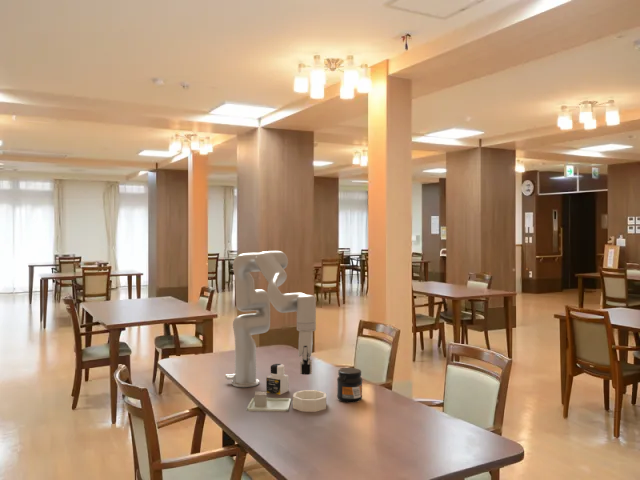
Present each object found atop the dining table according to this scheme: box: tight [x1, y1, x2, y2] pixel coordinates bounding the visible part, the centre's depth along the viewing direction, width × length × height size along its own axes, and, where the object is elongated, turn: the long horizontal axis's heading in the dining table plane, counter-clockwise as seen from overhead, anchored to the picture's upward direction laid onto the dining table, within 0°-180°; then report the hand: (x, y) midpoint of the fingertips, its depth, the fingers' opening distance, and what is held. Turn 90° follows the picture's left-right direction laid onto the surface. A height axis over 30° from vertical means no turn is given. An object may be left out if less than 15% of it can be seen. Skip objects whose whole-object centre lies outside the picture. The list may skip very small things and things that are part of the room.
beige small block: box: [254, 391, 268, 407], centre depth 217 cm, size 4×4×5 cm
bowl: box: [292, 389, 327, 413], centre depth 217 cm, size 13×13×5 cm
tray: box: [246, 397, 292, 413], centre depth 217 cm, size 16×14×1 cm
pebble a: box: [299, 359, 313, 375], centre depth 215 cm, size 4×4×5 cm
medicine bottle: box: [265, 363, 290, 396], centre depth 236 cm, size 7×7×12 cm
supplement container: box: [336, 367, 363, 403], centre depth 227 cm, size 10×10×12 cm
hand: (306, 372), depth 215 cm, fingers closed on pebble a, 3 cm apart
